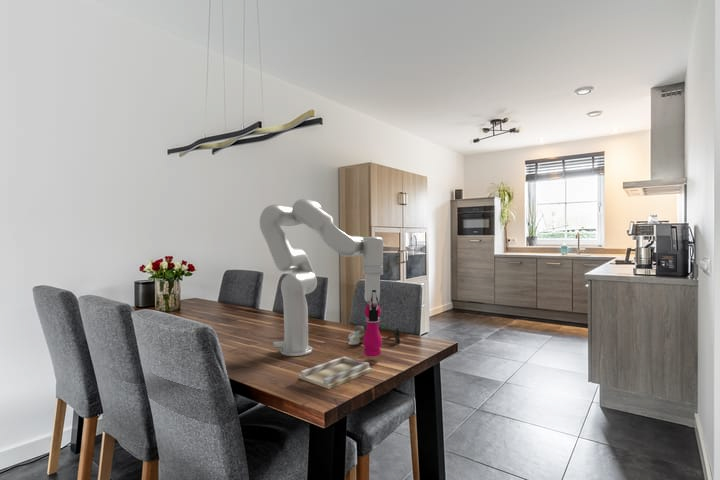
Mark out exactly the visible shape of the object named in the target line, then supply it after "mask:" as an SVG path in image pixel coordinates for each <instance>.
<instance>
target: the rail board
mask: <svg viewBox="0 0 720 480" xmlns="http://www.w3.org/2000/svg"><path fill="white" fill-rule="evenodd" d="M372 370H373V369H372V367H370V362H366V361H362V360H359V359H356V358H351V357H349V356H340V357H337V358H336V359H332V360H329V361H327V362H324V363H321V364H318V365H315V366H312V367H310V368H306V369H304V370H300V374H299V375H298V377H299V378H298V379H300V380H303V381H306V382H309V383H311V384H314V385H317V386H320V387H322V388H324V389H328V390H330V389H333V388H335V387H338V386H340V385H342V384H344V383H348V382H349V381H351V380H354V379H356V378H358V377H362V376H363V375H366V374H368V373H371V372H372Z"/></svg>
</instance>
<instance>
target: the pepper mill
mask: <svg viewBox="0 0 720 480" xmlns="http://www.w3.org/2000/svg"><path fill="white" fill-rule="evenodd" d="M371 301H373V300H371ZM371 305H372V304H371ZM369 310H370V304H369V305H368V304H367V305H366V306H365V308H364V315H365V316H366V317H365V322H366V330H365V335H364V338H363V341H362V345H363V347H364V349H363V355H364V356H366V357H379V356H380V355H382V354H381V353H382V350H381V347H382V345H383V339H382V338H383V337H382V335H381V333H380V330H379V322H380V317H379V316H380V315H381V313H382V310H381V307H380V305H378V321H369Z"/></svg>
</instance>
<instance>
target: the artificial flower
mask: <svg viewBox="0 0 720 480" xmlns="http://www.w3.org/2000/svg"><path fill="white" fill-rule="evenodd" d="M393 332H394V335H393V336H392V335H391V336H388V337H387V336H386V337H381V338H382V340H385V339H386V340H390V339H392V338H395V341H396V343H397V344H401V338H400V332H399V328H398V327H395V328H394V330H393ZM365 333H366V330H365V327H364V325H355V327H354V331H351V332H350V333H349V334H348V340H349V341H348V345H352V346H355V345H359V344H360V340H361V341H362V342H363V338H364V335H365Z"/></svg>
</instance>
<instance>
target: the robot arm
mask: <svg viewBox="0 0 720 480" xmlns="http://www.w3.org/2000/svg"><path fill="white" fill-rule="evenodd" d="M298 225H305V226H307V227H308V228H310V229H311V230H312V231H313V232H315V233H316V234H318V236H319V237H320V238H321V240H322V242H324V243H325V244H326V245H327V246H328V247H329V248H331V249H332V250H334V252H336V253H338V254H339V255H341V256H343V257H346V258H348V257H349V258H350V257H357V256H362V275H364V301H365V302H366V303H367V305H369V304H370V310H369V321H378V306H379V305H378V303H379V302H380V298H381V297H380V295H381V276H383V275H384V240H383V238H382V237H380V236H361V235H348V234H347V233H346V232H344V231H342V230H341V229H339V228H338V227H337V226H336V224H335V223H334V218H333V216H332V215H330V214H329V213H327V212H326V211H324V210H323V207H322V206H321V204H320V203H319V202H318V201H316V200H313V199H306V198H299V199H298V200H296V201H295V202H293V204H292V205H283V204H270V205H268V206H266V207H265V208H264V209H263V210H262V212H261V214H260V217H259V229H260V231H261V233H262V235H263V238H264V240H265V242H266V244H267V246H268V250H269V253H270V254H271V257H272V260H273V261H274V262H273V263H274V265H275V267H276V268H277V270H278V271H280V272H283V273H285V272H291V273H289V274H287V275H285V276H284V277H283V279H282V280H281V283H280V291H281V295H282V302H283V334H284V335H283V340H281V341H273V343H272V346H273V347H275V349H277V348H278V349H279V348H280V351H279V352H280V354H281V355H283V356H287V357H300V356H306V355H308V354H309V355H310V354H311V353H312V352H313V347H312V346H310V345H309V310H308V301H307V299H306V295H308V294H311V293H313V292H314V291H315V289H316V288H317V286H318V278H317V276H316V273H315V271H314V267H313V266H312V264H311V260H310V259H309V256H308V254H307V253H306V251H304V250H303V249H301V248H299V247H293V246H292V245H291V243H290V241H289V240H290V239H289V238H288V236H287V234H286V233H285V232H284V230H283V228H282V227H293V226H298ZM371 300H373V301H371ZM371 304H372V305H371Z"/></svg>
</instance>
